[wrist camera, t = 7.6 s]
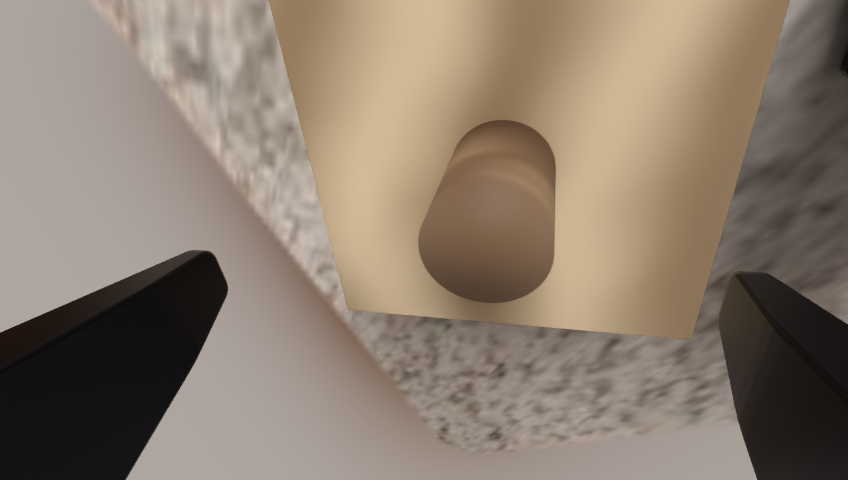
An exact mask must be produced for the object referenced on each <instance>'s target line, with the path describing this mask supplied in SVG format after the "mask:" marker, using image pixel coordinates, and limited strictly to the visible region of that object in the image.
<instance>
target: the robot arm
mask: <svg viewBox="0 0 848 480" xmlns="http://www.w3.org/2000/svg"><path fill="white" fill-rule="evenodd" d="M841 70H842V73H843V75H845V76H846V77H848V49H847V52H846V54H845V57H844V60H843V62H842V67H841ZM227 292H228V285H227V281H226V279H225V277H224V275H223V272H222V270H221V268H220V266H219V264H218V261H217V259H216V257H215V255H214V254H213V253H212V252H209V251H202V250H191V251H187V252H185V253H183V254H180V255H178V256H176V257H174V258H171V259H169V260H166V261H165V262H162V263H160V264H157V265H155V266H153V267H150V268H148V269H146V270H143V271H141V272H139V273H137V274H134V275H132V276H130V277H128V278H125V279H123V280H121V281H118V282H116V283H114V284H111V285H109V286H107V287H104V288H102V289H100V290H98V291H95V292H93V293H90V294H88V295H86V296H84V297H82V298H79V299H77V300H75V301H72V302H70V303H68V304H65V305H63V306H61V307H58V308H56V309H54V310H52V311H49V312H47V313H44V314H42V315H40V316H38V317H35V318H33V319H31V320H28V321H26V322H24V323H21V324H19V325H17V326H15V327H12V328H10V329H8V330H5V331H3V332H1V333H0V480H126V478H127V477H128V475H129V473H130V472H131V470H132V468H133V467H134V465H135V463H136V461H137V460H138V458H139V456H140V455H141V453H142V451H143V450H144V448H145V446H146V445H147V443H148V441H149V439H150V438H151V436H152V434H153V433H154V431H155V429H156V428H157V426H158V424H159V423H160V421H161V419H162V418H163V416H164V414H165V413H166V411H167V409H168V408H169V406H170V404H171V402H172V401H173V399H174V397H175V396H176V394H177V392H178V391H179V389H180V387H181V386H182V384H183V382H184V381H185V379H186V377H187V375H188V374H189V372H190V370H191V368H192V367H193V365H194V363H195V361H196V359H197V357H198V355H199V353H200V351H201V349H202V347H203V345H204V343H205V341H206V339H207V337H208V334H209V332H210V330H211V328H212V326H213V324H214V322H215V320H216V318H217V315H218V313H219V311H220V309H221V307H222V304H223V302H224V301H225V298H226V296H227ZM719 329H720V335H721V340H722V345H723V350H724V355H725V360H726V365H727V370H728V375H729V380H730V385H731V390H732V395H733V400H734V405H735V409H736V414H737V418H738V422H739V425H740V429H741V432H742V435H743V438H744V441H745V444H746V447H747V450H748V453H749V456H750V459H751V462H752V465H753V468H754V471H755V474H756V477H757V480H848V324H846V323H845V322H843V321H842V320H840V319H838V318H837V317H835V316H834V315H832V314H831V313H829V312H828V311H826V310H824V309H823V308H821V307H820V306H818V305H817V304H815V303H813V302H812V301H810V300H809V299H807V298H806V297H804V296H803V295H801V294H799V293H798V292H796V291H795V290H793V289H792V288H790V287H789V286H787V285H785V284H784V283H782V282H781V281H779V280H778V279H776V278H774V277H773V276H771V275H769V274H768V273H764V272H741V271H739V272H736V273H734V274H733V275H732V276H731V278H730V280H729V283H728V286H727V289H726V293H725V296H724V300H723V303H722V307H721V310H720V314H719Z"/></svg>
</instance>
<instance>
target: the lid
mask: <svg viewBox="0 0 848 480" xmlns="http://www.w3.org/2000/svg"><path fill="white" fill-rule="evenodd" d="M789 2H790V0H269V3H270V7H271V11H272V15H273V19H274V23H275V27H276V30H277V34H278V38H279V42H280V46H281V50H282V54H283V58H284V62H285V66H286V70H287V73H288V77H289V81H290V85H291V89H292V93H293V97H294V101H295V105H296V109H297V113H298V117H299V120H300V124H301V128H302V132H303V136H304V140H305V144H306V148H307V152H308V156H309V160H310V163H311V167H312V171H313V175H314V179H315V183H316V187H317V191H318V195H319V199H320V203H321V207H322V210H323V214H324V218H325V222H326V226H327V230H328V234H329V238H330V242H331V246H332V250H333V253H334V257H335V261H336V265H337V269H338V273H339V277H340V281H341V285H342V289H343V293H344V296H345V300H346V304H347V308H348V310H355V311H367V312H378V313H390V314H401V315H413V316H424V317H435V318H447V319H458V320H470V321H481V322H493V323H504V324H516V325H527V326H538V327H550V328H561V329H573V330H584V331H596V332H607V333H619V334H630V335H641V336H653V337H664V338H676V339H687V340H691V338H692V335H693V331H694V328H695V325H696V321H697V318H698V314H699V311H700V307H701V304H702V300H703V297H704V294H705V290H706V287H707V283H708V280H709V276H710V273H711V270H712V266H713V263H714V259H715V256H716V252H717V249H718V245H719V242H720V239H721V235H722V232H723V228H724V225H725V221H726V218H727V215H728V211H729V208H730V204H731V201H732V197H733V194H734V191H735V187H736V184H737V180H738V177H739V173H740V170H741V166H742V163H743V160H744V156H745V153H746V149H747V146H748V142H749V139H750V136H751V132H752V129H753V125H754V122H755V118H756V115H757V111H758V108H759V105H760V101H761V98H762V94H763V91H764V87H765V84H766V81H767V77H768V74H769V70H770V67H771V63H772V60H773V57H774V53H775V50H776V46H777V43H778V39H779V36H780V32H781V29H782V26H783V22H784V19H785V15H786V12H787V8H788V5H789Z"/></svg>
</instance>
